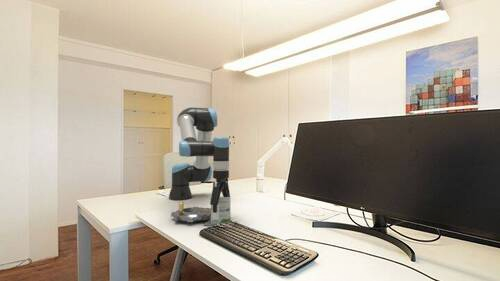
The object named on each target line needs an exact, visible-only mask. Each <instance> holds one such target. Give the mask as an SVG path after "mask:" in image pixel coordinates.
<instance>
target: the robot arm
mask: <svg viewBox="0 0 500 281" xmlns="http://www.w3.org/2000/svg"><path fill="white" fill-rule="evenodd" d="M176 123H177V126H178V127H179V130H180V137H181V141H179V143H178V154H179V156H181V157H187V158H188V157H189V158H190V157H195V161H193V163H192V164H191V165H190V163H187V162H186V163H179V164H175V165H173V166H172V167H171V189H170V191H169V194H168V199H169V200H171V201H185V200H190V199H192V195H193V194H192V191H191V188H190V183H196V182H197V183H199V182H202V183H203V182H209V181H210V180H211V178H213V179H214V180H215V181H213V183H212V191H211V198H210V203H209V204H210V206H211V205H212V219H214V220H219V205H218V202H219V198H220V197H221V194H222V197H230V198H231V193H230V187H229V178H230V170H229V169H230V139H229V137H227V136H226V137H224V136H222V137H221V136H215V137H213V139H212V140H211V136H212V132H213V131H214V130H215V128H216V127H218V114H217V111H216V110H215V109H214V108H210V107H187V108H185V109H183V110H181V112H179V114H178V115H177V121H176ZM195 129H196V130H197V135H196V131H195ZM209 157H212V163H210V162H209Z"/></svg>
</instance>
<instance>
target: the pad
mask: <svg viewBox="0 0 500 281" xmlns="http://www.w3.org/2000/svg"><path fill="white" fill-rule="evenodd" d="M233 221H234V222H236V223H237V220H233ZM215 225H217V224H211V218H209V219H208V221H207V222H205V223H204V224H203V226H204V227H210V226H215Z"/></svg>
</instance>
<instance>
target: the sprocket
mask: <svg viewBox="0 0 500 281" xmlns="http://www.w3.org/2000/svg"><path fill="white" fill-rule="evenodd" d="M170 217H172V219H173V221H175V222H178V221H180V222H186V223H194V222H200V221H207V220H208V221H209V220H210V219H211V207H200V206H192V207H185V202H184V201H179V203H178V210H176V211H172V212H171V213H170Z"/></svg>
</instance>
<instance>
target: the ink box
mask: <svg viewBox="0 0 500 281" xmlns="http://www.w3.org/2000/svg"><path fill="white" fill-rule="evenodd" d="M218 205H219V220H214V219H212V205H210V208H211V217H210V219H211V224H221V223H224V222H229V221H232V220H231V216H232V214H231V196H230V197H223V196H220V198H219V202H218Z"/></svg>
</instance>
